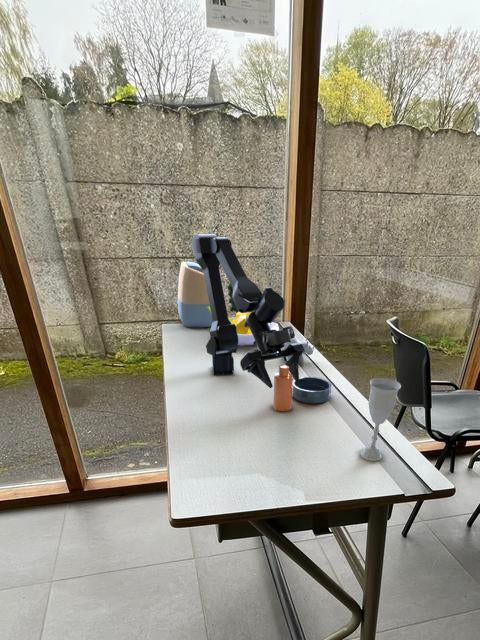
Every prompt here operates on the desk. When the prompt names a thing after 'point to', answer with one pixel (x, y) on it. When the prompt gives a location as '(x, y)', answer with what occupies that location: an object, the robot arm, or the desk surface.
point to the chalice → (380, 410)
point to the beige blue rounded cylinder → (193, 296)
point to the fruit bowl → (244, 328)
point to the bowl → (311, 390)
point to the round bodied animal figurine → (305, 344)
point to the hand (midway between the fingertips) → (284, 384)
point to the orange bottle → (282, 389)
